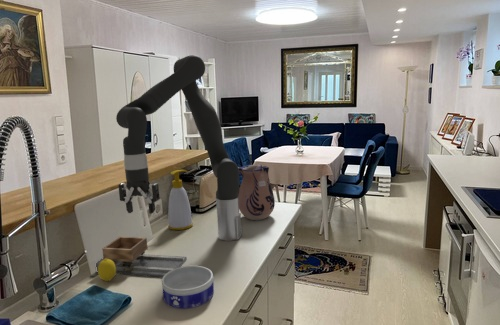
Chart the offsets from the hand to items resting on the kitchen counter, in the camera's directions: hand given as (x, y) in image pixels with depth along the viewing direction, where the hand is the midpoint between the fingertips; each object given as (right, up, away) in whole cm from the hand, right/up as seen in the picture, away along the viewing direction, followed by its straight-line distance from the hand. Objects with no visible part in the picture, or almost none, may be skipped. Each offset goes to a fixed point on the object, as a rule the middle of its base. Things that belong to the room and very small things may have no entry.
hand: (141, 212), depth 130 cm
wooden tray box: (-7, -18, +5) cm, 19 cm away
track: (-1, -20, +4) cm, 20 cm away
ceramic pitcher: (+40, -9, +50) cm, 65 cm away
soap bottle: (+6, -12, +43) cm, 45 cm away
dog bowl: (+19, -23, -16) cm, 34 cm away
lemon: (-9, -22, -6) cm, 25 cm away
